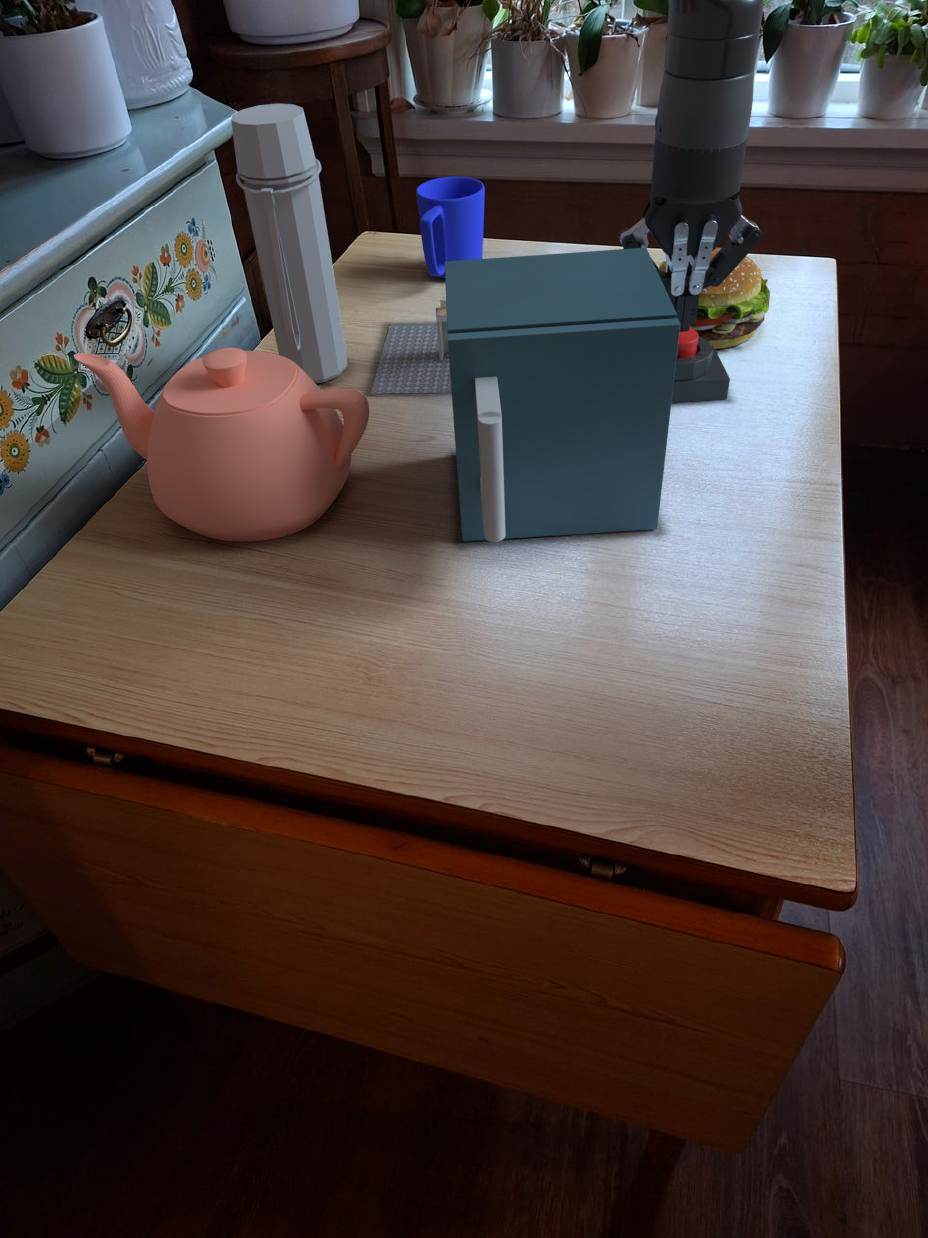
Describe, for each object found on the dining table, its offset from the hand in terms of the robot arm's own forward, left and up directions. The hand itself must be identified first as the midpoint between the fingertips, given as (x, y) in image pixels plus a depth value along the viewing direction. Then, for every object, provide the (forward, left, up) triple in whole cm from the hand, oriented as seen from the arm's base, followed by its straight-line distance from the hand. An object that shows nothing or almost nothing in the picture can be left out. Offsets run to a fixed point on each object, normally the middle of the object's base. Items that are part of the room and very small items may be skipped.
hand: (678, 327), depth 87 cm
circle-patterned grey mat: (+20, -9, -6) cm, 23 cm away
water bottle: (+37, -7, -6) cm, 38 cm away
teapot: (+41, +14, -6) cm, 44 cm away
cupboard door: (+14, +26, -6) cm, 30 cm away
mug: (+22, -30, -6) cm, 38 cm away
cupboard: (+14, +16, -6) cm, 22 cm away
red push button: (0, 0, -2) cm, 2 cm away
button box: (0, 0, -6) cm, 6 cm away
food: (-5, -12, -6) cm, 14 cm away
